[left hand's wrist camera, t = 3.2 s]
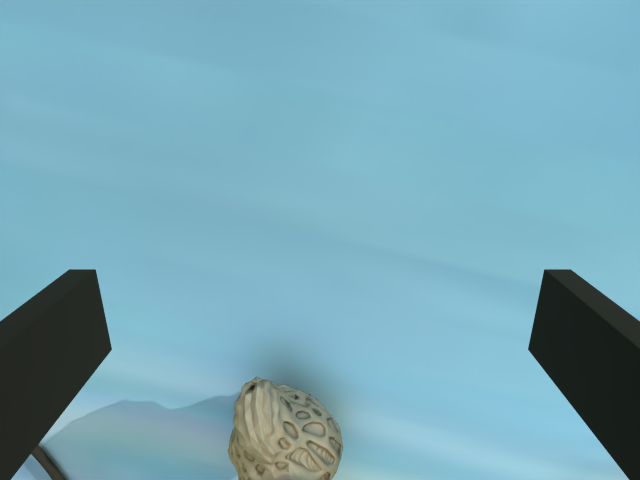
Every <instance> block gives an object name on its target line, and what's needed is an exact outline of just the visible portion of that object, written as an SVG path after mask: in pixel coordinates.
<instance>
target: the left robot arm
mask: <svg viewBox="0 0 640 480" xmlns="http://www.w3.org/2000/svg"><path fill="white" fill-rule="evenodd" d="M111 350H112V348H111V343H110V338H109V333H108V328H107V323H106V318H105V313H104V309H103V304H102V299H101V294H100V289H99V284H98V279H97V274H96V270H68V271H67V272H66V273H64V274H63V275H62V276H60V277H59V278H58V279H56V280H55V281H54V282H52V283H51V284H50V285H48V286H47V287H46V288H44V289H43V290H42V291H40V292H39V293H38V294H36V295H35V296H34V297H32V298H31V299H30V300H28V301H27V302H26V303H24V304H23V305H22V306H20V307H19V308H18V309H16V310H15V311H14V312H12V313H11V314H10V315H8V316H7V317H6V318H4V319H3V320H2V321H0V480H11V478H12V477H13V476H14V475H15V473H16V472H17V471H18V469H19V468H20V467H21V466H22V464H23V463H24V462H25V460H26V459H27V458H28V457H29V455H30V454H31V453H32V451H33V450H34V449H35V448H36V446H37V445H38V444H39V442H40V441H41V440H42V439H43V437H44V436H45V435H46V433H47V432H48V431H49V430H50V428H51V427H52V426H53V424H54V423H55V422H56V421H57V419H58V418H59V417H60V415H61V414H62V413H63V412H64V410H65V409H66V408H67V406H68V405H69V404H70V403H71V401H72V400H73V399H74V397H75V396H76V395H77V394H78V392H79V391H80V390H81V388H82V387H83V386H84V385H85V383H86V382H87V381H88V379H89V378H90V377H91V375H92V374H93V373H94V372H95V370H96V369H97V368H98V366H99V365H100V364H101V363H102V361H103V360H104V359H105V357H106V356H107V355H108V354H109V352H110V351H111ZM528 350H529V351H530V352H531V354H532V355H533V356H534V357H535V359H536V360H537V361H538V363H539V364H540V365H541V366H542V368H543V369H544V370H545V372H546V373H547V374H548V375H549V377H550V378H551V379H552V381H553V382H554V383H555V385H556V386H557V387H558V388H559V390H560V391H561V392H562V394H563V395H564V396H565V397H566V399H567V400H568V401H569V403H570V404H571V405H572V406H573V408H574V409H575V410H576V412H577V413H578V414H579V415H580V417H581V418H582V419H583V421H584V422H585V423H586V424H587V426H588V427H589V428H590V430H591V431H592V432H593V433H594V435H595V436H596V437H597V439H598V440H599V441H600V442H601V444H602V445H603V446H604V448H605V449H606V450H607V451H608V453H609V454H610V455H611V457H612V458H613V459H614V460H615V462H616V463H617V464H618V466H619V467H620V468H621V469H622V471H623V472H624V473H625V475H626V476H627V477H628V478H629V480H640V321H638V320H637V319H636V318H634V317H633V316H632V315H630V314H629V313H628V312H626V311H625V310H624V309H622V308H621V307H620V306H618V305H617V304H616V303H614V302H613V301H612V300H610V299H609V298H608V297H606V296H605V295H604V294H602V293H601V292H600V291H598V290H597V289H596V288H594V287H593V286H592V285H590V284H589V283H588V282H586V281H585V280H584V279H582V278H581V277H580V276H578V275H577V274H576V273H574V272H573V271H572V270H544V274H543V279H542V284H541V289H540V294H539V299H538V304H537V309H536V313H535V318H534V323H533V328H532V333H531V338H530V343H529V348H528Z"/></svg>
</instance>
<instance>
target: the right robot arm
mask: <svg viewBox="0 0 640 480" xmlns="http://www.w3.org/2000/svg"><path fill="white" fill-rule="evenodd" d="M31 454H32V455H33V456H34V457H35V458H36V460H37V461H38V462H39V463H40V464H41V465H42V467H43V468H44V469H45V470H46V472H47V473H48V474H49V476H50V477H51V478H52V480H65V479H64V478H63V476H62V475H61V473H60V472H59V470H58V469H57V467H56V466H55V465H54V464H53V462H52V461H51V460H50V458H49V457H48V456H47V455H46V454H45V452H44V451H43V450H42V449H41V448H40V447H39V446H38V445H37V446H36V448H35V449H34V450H33V451H32V453H31Z"/></svg>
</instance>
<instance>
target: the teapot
mask: <svg viewBox="0 0 640 480" xmlns="http://www.w3.org/2000/svg"><path fill="white" fill-rule="evenodd" d="M233 423H234V425H235V427H234V429H233V431H232V434H231V437H230V443H229V449H228V453H229V457H230V460H231V461H232V463H233V464H234V466H235V468H236V470H237V472H238V478H239V480H332V478H333V476H334V475H335V473H336V471H337V469H338V466H339V463H340V459H341V455H342V450H343V444H342V438H341V432H340V428H339V426H338V424H337V422H336V421H335V420H334V419H333V418H331V415H330V414H329V413H328V412H327V411H326V410H325V407H323V406H322V405H321V404H320V403H319V402H318V401H317V400H316V399H315V398H313V397H311V395H309V394H306V393H304V392H302V391H300V390H297V389H294V388H291V387H289V386H287V385H285V384H283V385H280V386H277V385H276V384H275V383H274V382H272V381H269V380H262V379H260V378H258V377H256V378H255V379H253V380H252V381H250V382H248V383H245V385H244V386H242V390H241V395H240V396H239V398H238V399H237V400H236V402H235V415H234V419H233Z"/></svg>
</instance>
